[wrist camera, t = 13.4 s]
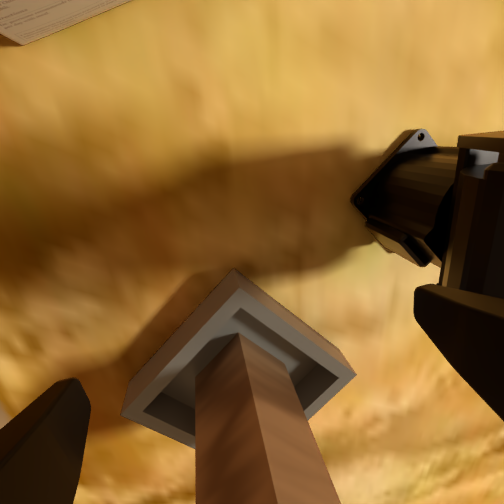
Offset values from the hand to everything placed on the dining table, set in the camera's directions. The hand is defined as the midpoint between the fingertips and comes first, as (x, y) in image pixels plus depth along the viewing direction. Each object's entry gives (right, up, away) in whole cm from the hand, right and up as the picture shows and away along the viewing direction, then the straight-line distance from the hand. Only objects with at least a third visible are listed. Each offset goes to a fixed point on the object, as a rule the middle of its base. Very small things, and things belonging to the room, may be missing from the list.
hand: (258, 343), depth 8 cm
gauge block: (-1, -7, +16) cm, 17 cm away
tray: (-1, -7, +16) cm, 18 cm away
